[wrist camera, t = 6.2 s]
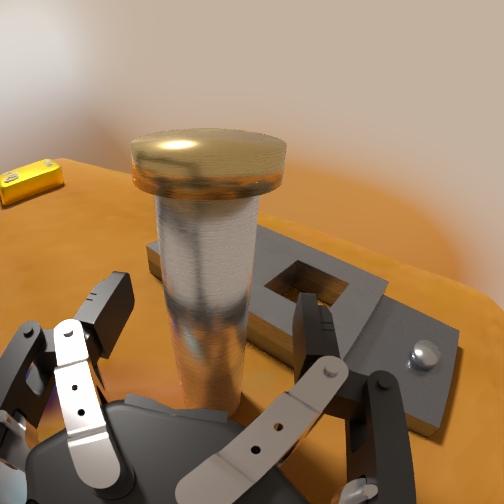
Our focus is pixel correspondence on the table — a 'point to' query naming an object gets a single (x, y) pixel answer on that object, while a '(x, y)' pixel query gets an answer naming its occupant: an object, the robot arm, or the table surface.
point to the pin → (208, 246)
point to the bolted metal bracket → (349, 322)
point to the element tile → (29, 180)
